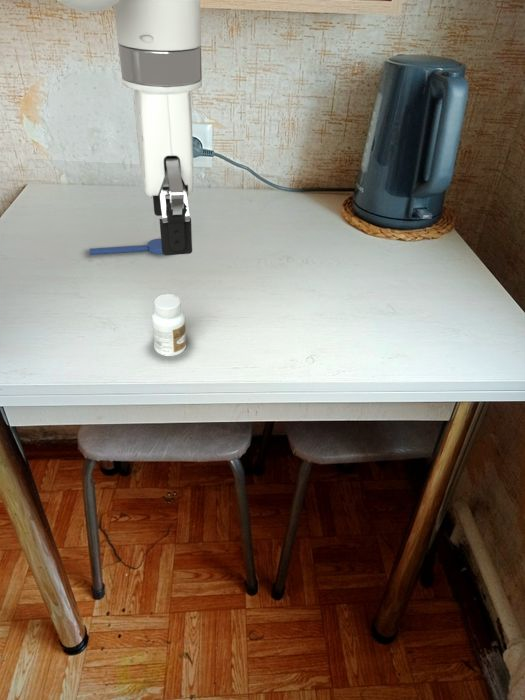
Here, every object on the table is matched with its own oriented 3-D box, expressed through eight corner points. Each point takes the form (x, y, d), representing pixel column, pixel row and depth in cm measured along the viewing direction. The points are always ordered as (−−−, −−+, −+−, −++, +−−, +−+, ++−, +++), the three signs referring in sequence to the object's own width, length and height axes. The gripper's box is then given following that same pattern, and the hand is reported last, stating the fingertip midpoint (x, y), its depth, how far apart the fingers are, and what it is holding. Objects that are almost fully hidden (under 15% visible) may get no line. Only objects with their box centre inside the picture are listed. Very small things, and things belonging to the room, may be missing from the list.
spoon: (89, 259, 88) (89, 254, 87) (89, 247, 91) (89, 242, 90) (172, 253, 91) (172, 248, 90) (169, 242, 94) (169, 237, 94)
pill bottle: (183, 358, 69) (181, 311, 64) (151, 356, 69) (146, 309, 64) (188, 338, 73) (186, 292, 68) (157, 336, 73) (153, 290, 68)
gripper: (117, 48, 53) (134, 203, 64) (124, 89, 41) (144, 274, 52) (188, 49, 55) (193, 200, 66) (217, 89, 42) (217, 268, 53)
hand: (172, 232), depth 59 cm, fingers open, 9 cm apart
